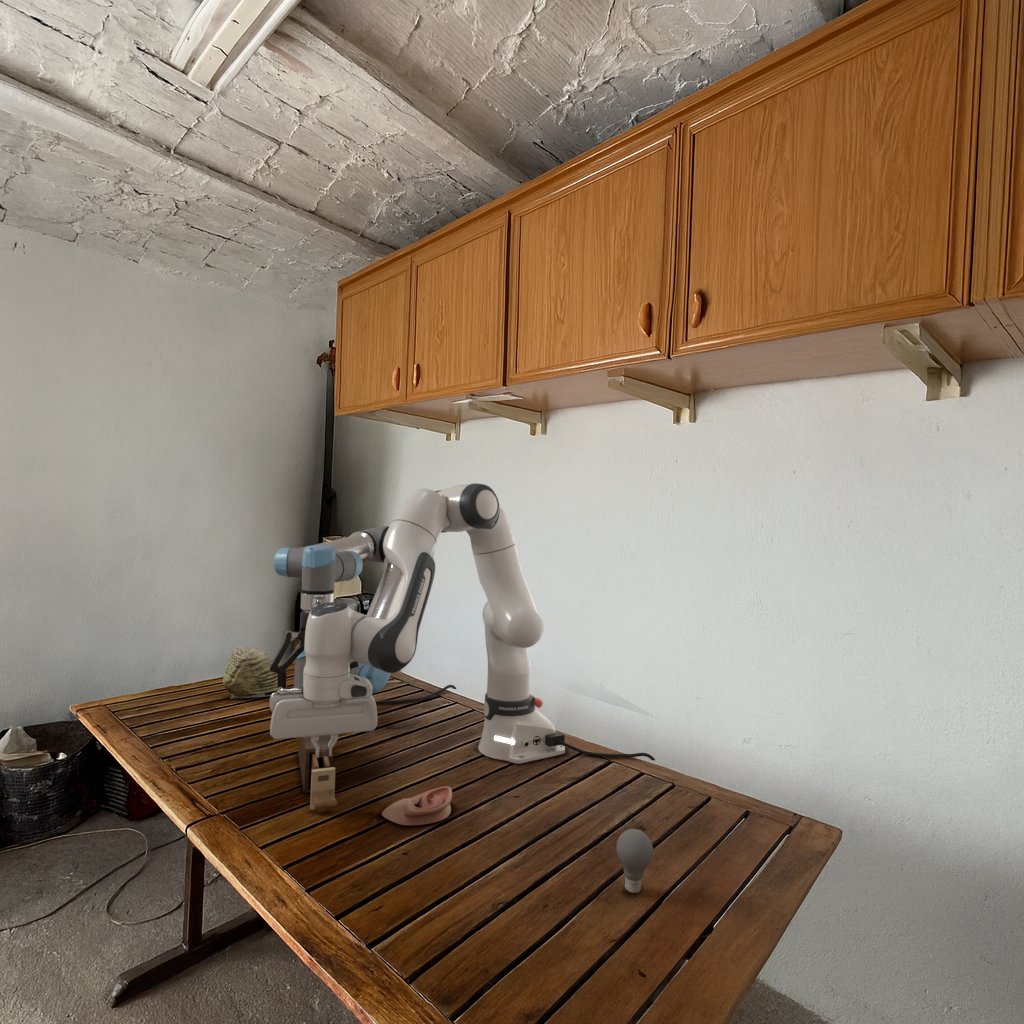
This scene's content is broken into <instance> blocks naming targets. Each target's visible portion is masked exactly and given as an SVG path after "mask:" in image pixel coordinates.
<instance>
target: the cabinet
mask: <svg viewBox="0 0 1024 1024" xmlns="http://www.w3.org/2000/svg"><path fill="white" fill-rule="evenodd" d="M330 740H331V738H330V735H320V736H319V740H318V741H317V742H318V744H319V746H321V745H328V743H329V742H330ZM312 752H316V749H315V747H314V745H313V744H312V742H311V736H309V737H298V747H297V754H298V755H297V758H298V763H299V769H300V776H301V782H302V789H303V794H309V793H310V794H311V784H310V778H309V761H310V753H312ZM328 759H329V763H330V767H334V747H333V748H332V756H328Z"/></svg>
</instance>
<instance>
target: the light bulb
mask: <svg viewBox="0 0 1024 1024" xmlns="http://www.w3.org/2000/svg"><path fill="white" fill-rule="evenodd" d="M615 849H616V854H617V857H618V859H619V861H620V863H621V865H622V867H623V873H624V874H623V875H624V876H625V878H624V888H625V890H627V891H628V892H630V893H634V894H635V893H639V892H640V891H641V889H642V887H641V886H642V879H643V877H644V875H645V871H646V868H647V867H648V866H649V864H650V863H651V861H652V859H653V855H654V847H653V843H652V841H651V838H649V836H648V835H647V834H646V833H645V832H643V831H642V830H641V829H636V828H629V829H627V830H625V831H623V832H622V833H621V834H620V835H619V837H618V839H617V841H616V847H615Z"/></svg>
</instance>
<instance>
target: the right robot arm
mask: <svg viewBox="0 0 1024 1024" xmlns="http://www.w3.org/2000/svg"><path fill="white" fill-rule="evenodd" d="M388 527H389V529H388V531H387V533H386V535H385V538H384V542H383V549H384V553H385V556H386V558H387V559H388V561H389V562H390V563H391V564H392V565H393V566H394V567H395V568H397V569H398V570H399V571H400V572H402V573H403V574H404V577H405V583H404V587H403V590H402V593H401V596H400V599H399V602H398V605H397V608H396V611H395V614H394V615H393V616H392V617H391V618H389V619H387V620H386V619H380V618H375V617H373V616H368V615H367V614H364V613H361V612H358V611H356V610H354V609H352V608H351V607H350V605H348V603H346V602H342V601H334V602H330V603H323V604H320V605H318V606H316V607H314V608H313V609H312V610H311V611H310V614H309V616H308V619H307V624H306V631H305V645H304V651H305V655H306V664H305V667H304V671H303V687H302V688H294V687H292V688H286V689H279V690H278V691H277V692H274V693H273V694H272V695H271V696H269V699H268V700H269V701H268V707H269V710H270V712H271V719H270V725H269V735H270V737H271V738H273V740H284V739H285V740H286V739H297V738H299V737H309V736H311V742H312V744H313V745H314V747H315V749H316V758H318V757H328V756H332V748H333V749H334V747H335V745H336V744H337V742H338V740H339V735H340V734H341V735H342V734H343V735H344V734H353V733H363V732H373V731H374V730H375V729H376V728H377V726H378V710H377V709H378V708H377V704H376V703H375V701H376V700H375V698H374V696H373V694H372V685H371V683H370V681H369V680H368V679H367V678H364V677H360V676H356V675H352V674H350V666H349V665H350V663H351V662H354V661H356V662H358V663H362V664H366V665H370V666H373V667H375V668H377V669H380V670H382V671H385V672H387V673H391V674H394V673H397V672H400V671H401V670H402V669H404V668H405V667H407V666H408V665H409V664H410V663H411V662H412V660H413V658H414V657H415V655H416V651H417V646H418V639H419V631H420V628H421V624H422V620H423V617H424V614H425V611H426V608H427V604H428V601H429V597H430V594H431V591H432V588H433V583H434V579H435V574H436V562H435V560H434V557H433V558H432V554H433V550H434V551H435V547H436V544H437V542H438V541H439V538H440V535H441V533H461V532H462V533H463V532H466V534H468V536H469V539H470V545H471V550H472V555H473V559H474V564H475V567H476V572H477V575H478V580H479V583H480V585H481V588H482V590H483V592H484V594H485V597H486V599H487V601H486V602H485V604H484V606H483V608H482V611H481V612H482V620H483V624H484V625H483V626H484V638H485V639H484V640H485V648H486V656H487V657H486V658H487V682H486V693H485V694H484V702H483V714H484V715H483V716H484V720H483V728H482V733H481V736H480V740H479V743H478V745H477V749H478V752H479V753H481V754H482V755H483V756H486V757H487V758H491V759H494V760H499V761H506V762H509V763H512V764H516V765H517V764H518V765H519V764H524V763H529V762H533V761H538V760H542V759H547V758H552V757H557V756H560V755H563V754H565V753H566V748H568V749H570V750H572V751H575V752H577V753H579V754H583V755H586V756H591V757H600V758H637V757H646V758H648V759H650V760H651V761H654V762H655V761H656V759H655V757H654V756H653V755H651V754H650V753H647V752H636V753H601V752H593V751H587V750H583V749H581V748H579V747H576V746H575V745H572V744H570V743H567V742H565V738H566V734H564V733H562V732H561V731H556V728H555V725H554V723H553V722H552V721H551V720H549V718H547V716H545V715H544V714H543V713H541V712H540V711H539V710H538V709H540V708H542V706H543V704H544V703H543V700H542V699H540V698H539V697H535V696H534V695H532V694H531V692H530V691H531V671H532V670H531V669H532V668H531V667H532V666H531V661H530V658H529V653H528V648H531V647H533V646H535V645H537V643H538V642H539V641H540V640H541V638H542V636H543V634H544V628H545V627H544V621H543V619H542V617H541V615H540V613H539V611H538V608H537V606H536V604H535V600H534V599H533V596H532V593H531V591H530V588H529V586H528V584H527V581H526V578H525V576H524V573H523V569H522V566H521V561H520V557H519V553H518V549H517V545H516V541H515V538H514V534H513V530H512V528H511V525H510V521H509V520H508V518H507V515H506V513H505V512H504V510H503V509H502V508H501V507H500V501H499V498H498V496H497V494H496V492H495V491H494V489H492V487H490V486H489V485H486V484H485V483H475V482H474V483H470V484H459V485H452V486H451V487H447V488H445V489H439V490H433V489H429V488H418V489H416V490H414V491H413V492H412V493H410V495H408V497H407V498H406V500H405V501H404V502H403V504H402V505H401V507H400V508H399V509H398V511H397V513H396V514H395V515H394V518H393V520H391V523H390V525H389V526H388ZM277 693H278V694H277ZM302 693H303V694H302ZM275 694H276V695H275ZM537 708H538V709H537ZM320 735H330V738H331V740H330V742H329V743H328V745H321V746H319V744H318V742H317V741H318V740H319V736H320Z"/></svg>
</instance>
